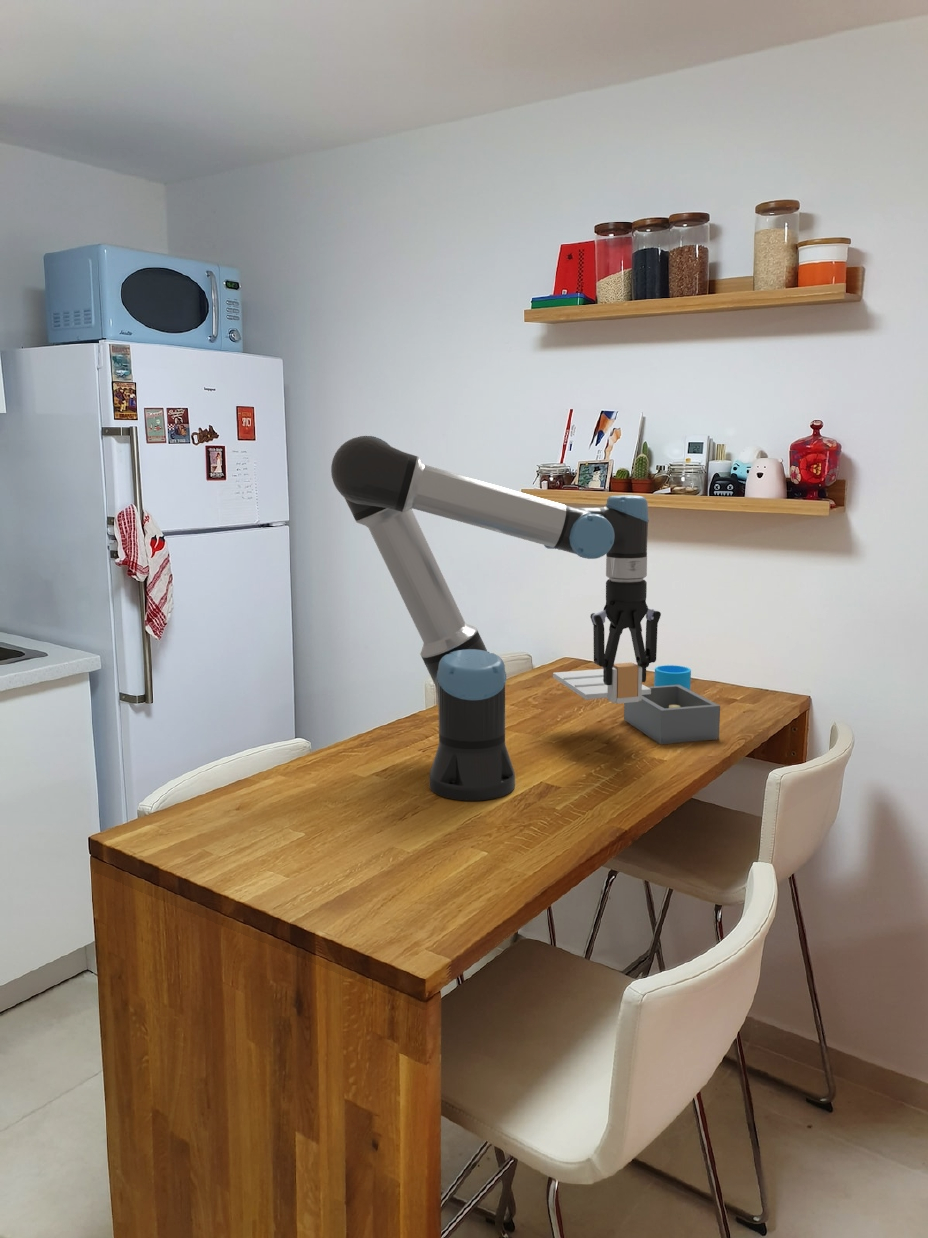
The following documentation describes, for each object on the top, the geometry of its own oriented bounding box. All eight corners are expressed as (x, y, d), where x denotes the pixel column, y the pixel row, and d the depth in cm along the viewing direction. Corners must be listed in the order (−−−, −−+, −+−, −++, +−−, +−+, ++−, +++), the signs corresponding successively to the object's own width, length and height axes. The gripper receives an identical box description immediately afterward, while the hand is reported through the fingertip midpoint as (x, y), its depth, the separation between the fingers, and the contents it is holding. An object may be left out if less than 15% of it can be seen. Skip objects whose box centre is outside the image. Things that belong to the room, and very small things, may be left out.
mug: (684, 710, 217) (685, 674, 215) (649, 705, 221) (650, 671, 219) (698, 697, 227) (699, 664, 226) (664, 693, 231) (665, 660, 229)
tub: (660, 744, 192) (661, 710, 191) (623, 719, 209) (624, 688, 208) (718, 739, 195) (720, 705, 194) (678, 715, 212) (679, 684, 211)
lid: (594, 705, 179) (594, 669, 178) (553, 677, 201) (553, 644, 200) (660, 699, 183) (661, 664, 181) (613, 672, 205) (613, 640, 203)
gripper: (590, 584, 173) (588, 709, 177) (678, 579, 177) (675, 701, 181) (575, 578, 180) (574, 698, 184) (660, 574, 184) (657, 691, 188)
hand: (624, 699), depth 183 cm, fingers closed on lid, 4 cm apart
